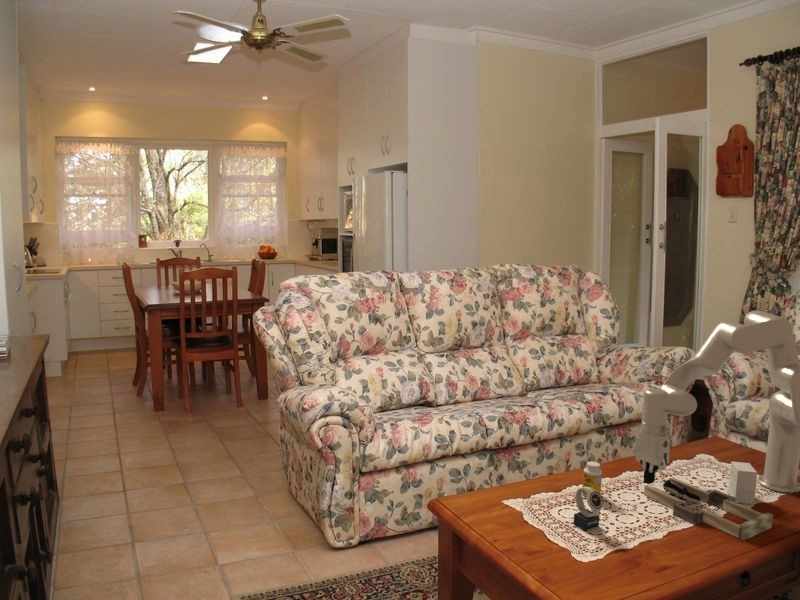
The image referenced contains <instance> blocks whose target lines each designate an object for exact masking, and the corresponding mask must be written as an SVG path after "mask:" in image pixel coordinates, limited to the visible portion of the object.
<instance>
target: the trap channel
mask: <svg viewBox="0 0 800 600" xmlns="http://www.w3.org/2000/svg"><path fill="white" fill-rule="evenodd" d="M668 480H670V482H671V483H672V484H675V485H676V486H677V487H679V488H681V489H683V488H685V487H686V488H687V490H688V492H690V493H693V494H696V495H698V496H699V497H700V499H701V502H703V503H706V504H708V503H707V502H709V501H712V500H715V501H718V502H720V503H722V504H723V508H722V509H724V510H725V511H724V510H723V511H724V512H726V513H730V514H732V515H734V516H737V517H739V518H742V519H744V520H746V521H744V522H742V523H740V524H739V523H737V522H735V521H731V520H729V519H727V518H724V517H722V516H720V515H717V514H715V513H712V512H710V511H708V510H706V509H704V508H700V509H697V510H692V509H690V508H688V507H687V501H683V500H680V499H679V497H677V496H675V497H673V496H671V495H670V493H666V492H663V491H662V490H659V489H658V488H654V487H651V486H649V485H646V486H644V490H643V496H644V495H645V496H647V497H646V498H648V497H649V498H648V499H650V498H651V499H650V500H652V499H653V500H652V501H654V500H656V501H655V502H657V501H658V502H657V503H659V502H660V503H659V504H661V503H662V505H663V504H664V505H663V506H666V507H668V508H670V509H672V515H673V516H676V517H677V518H679V517H680V518H679V519H682V520H685V521H686V522H688V521H689V524H690V523H691V524H701V523H704V524H706V525H709V526H711V527H712V528H715V529H718V530H720V531H722V532H723V533H724V532H725V533H727V534H728V535H731V536H734V537H736V538H738V539H740V540H742V541H747V540H748V539H750V538H753V537H755V536H756V535H760V534H761V533H764V532H766V531H767V530H771V529H772V527H773V519H774V514H773V513H770V512H769V511H768V512H765V513H763V512H760V511H756V510H755V509H752V508H750V507H747V506H745V505H742V504H741V503H735V497H733V496H730V494H729V493H728V494H727V493H724V492H722V491H719V490H718V489H707V490H705V489H702V488H699V487H698V486H695V485H692V484H690V483H687V482H685V481H682V480H679V479H678V478H675V477H669V478H668ZM645 496H644V497H645ZM722 509H721V510H722Z"/></svg>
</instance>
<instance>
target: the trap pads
mask: <svg viewBox="0 0 800 600" xmlns="http://www.w3.org/2000/svg"><path fill="white" fill-rule="evenodd" d="M706 504H708V505H710V506H712V505H713V506H712V507H715V506H716V507H715V508H717V507H718V508H717V509H720V508H721V509H720V510H722V508H723V504H722V503H720V502H718V501H715V500H712V501H709V502H707V503H706Z"/></svg>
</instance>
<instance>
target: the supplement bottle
mask: <svg viewBox="0 0 800 600" xmlns="http://www.w3.org/2000/svg"><path fill="white" fill-rule="evenodd" d="M582 474H583V475H582V487H581V488H583V487H591V488H593V489H595V490H596V491H597V492H598V493H599V494H600V495H601V491H602V480H603V479H602V477H603V472H602V470H601V464H600V463H599V462H597V461H587V462H586V467H584V469H583V473H582ZM581 494H582V495H583V496H584V497H586V498H587V494H586V490H584V489H583V491H582V493H581Z"/></svg>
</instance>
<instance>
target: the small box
mask: <svg viewBox="0 0 800 600" xmlns="http://www.w3.org/2000/svg"><path fill="white" fill-rule="evenodd" d="M757 477H758V471H757V470H756V469H755V468H754V467H753V465H752V464H751V463H750V462H742V461H731V463H730V471H729V482H728V492H727V493H728V495H730V496H733V497H735V503H737V504H744V503H745V505H755V499H756V498H755V496H756V487H757V480H758V478H757Z"/></svg>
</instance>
